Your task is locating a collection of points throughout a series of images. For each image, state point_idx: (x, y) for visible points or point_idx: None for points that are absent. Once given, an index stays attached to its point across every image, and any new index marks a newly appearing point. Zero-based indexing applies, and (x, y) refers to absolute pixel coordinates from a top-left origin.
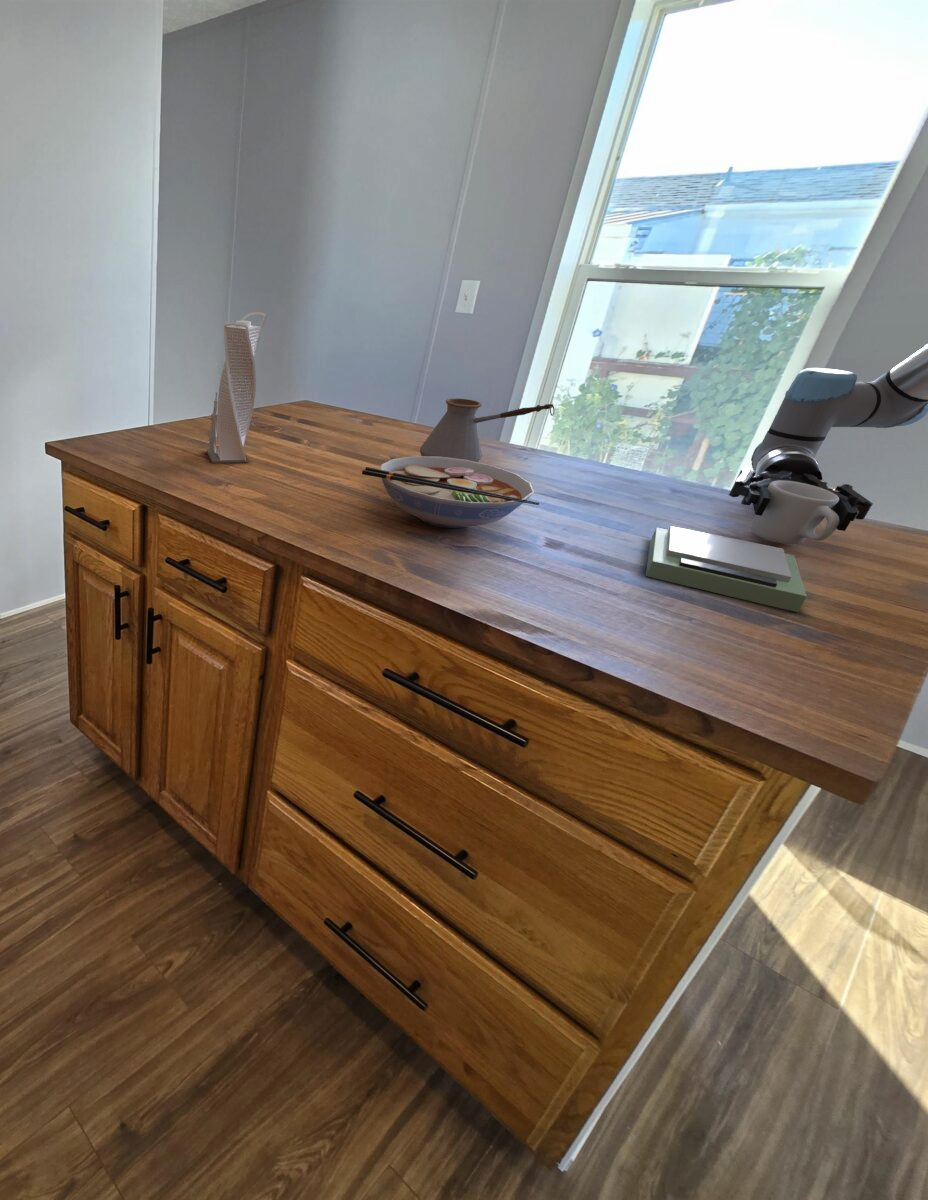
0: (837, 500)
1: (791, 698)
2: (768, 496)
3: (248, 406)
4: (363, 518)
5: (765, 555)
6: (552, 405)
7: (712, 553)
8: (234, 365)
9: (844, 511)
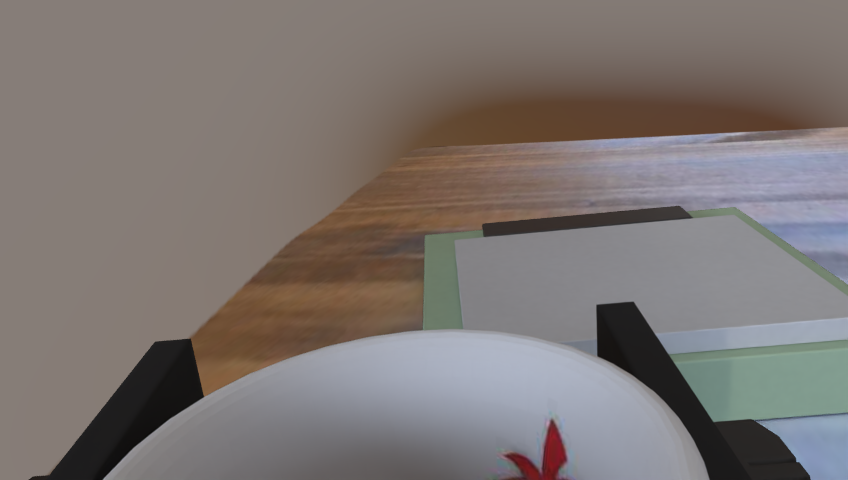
0: (152, 434)
1: (458, 169)
2: (619, 329)
3: None
4: None
5: (517, 289)
6: None
7: (643, 241)
8: None
9: (164, 403)
